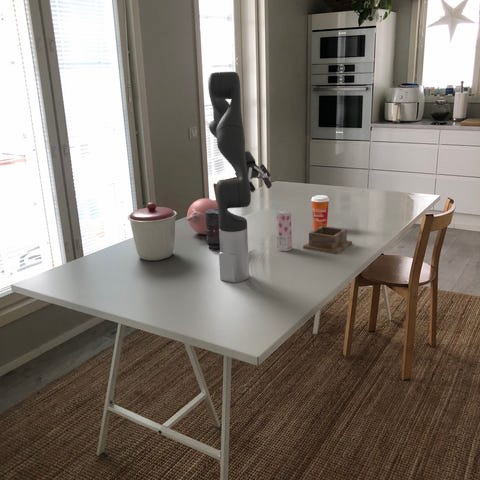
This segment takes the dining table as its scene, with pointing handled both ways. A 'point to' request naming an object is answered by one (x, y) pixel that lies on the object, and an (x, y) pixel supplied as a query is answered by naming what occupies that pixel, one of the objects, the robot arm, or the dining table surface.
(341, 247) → the can socket
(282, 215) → the beverage can
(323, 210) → the paper cup
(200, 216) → the pink piggy bank
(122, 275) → the dining table surface
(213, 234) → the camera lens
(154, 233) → the canister
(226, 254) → the robot arm
